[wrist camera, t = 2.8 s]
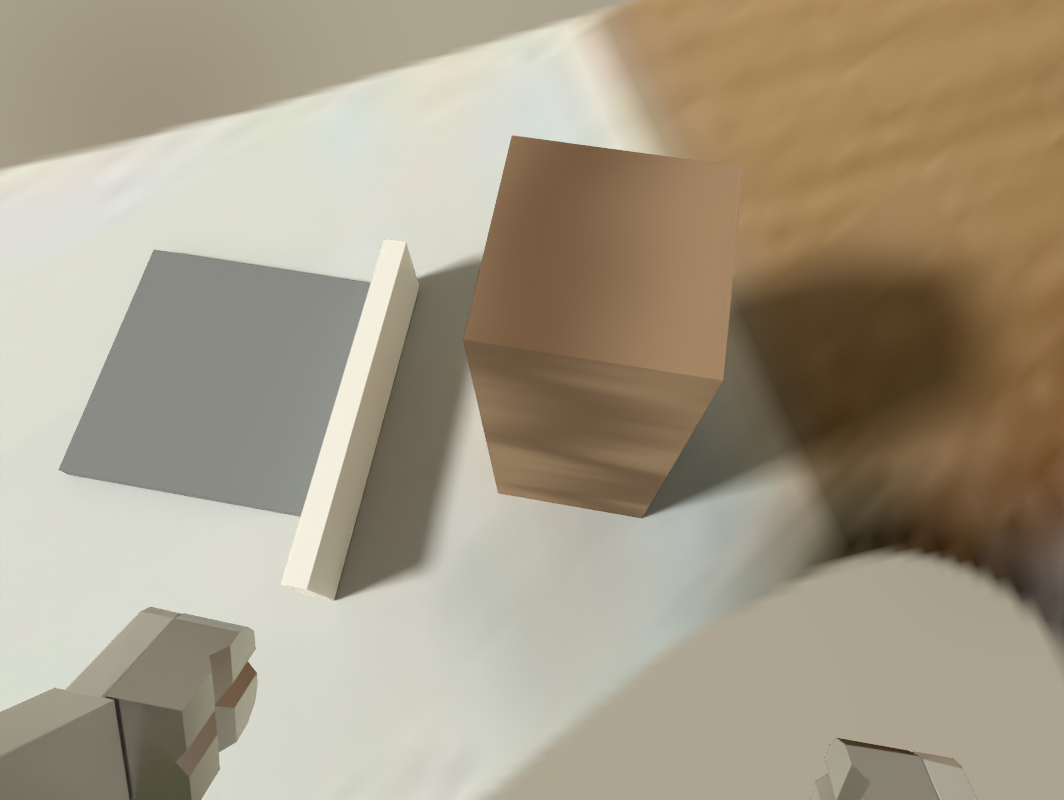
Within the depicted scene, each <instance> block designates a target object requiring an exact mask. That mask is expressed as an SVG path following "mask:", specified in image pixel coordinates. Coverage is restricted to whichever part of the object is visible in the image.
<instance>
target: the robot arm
mask: <svg viewBox="0 0 1064 800" xmlns="http://www.w3.org/2000/svg"><path fill="white" fill-rule="evenodd" d="M255 649H256V648H255V637H254V631H253V630H252V629H250V628H248V627H244V626H240V625H235V624H231V623H226V622H221V621H217V620H212V619H207V618H203V617H198V616H194V615H189V614H181V613H176V612H171V611H167V610H162V609H158V608H153V607H150V608H147V609H145V610H143V611H141V612H139V613H138V614H137V615H136V616H135V617H134V618H133V619H132V620H131V621H130V622H129V623H128V624H127V626H126V627H125V628H124V629H123V630H122V631H121V632H120V633H119V634H118V635H117V636H116V637H115V638H114V639H113V640H112V641H111V642H110V643H109V644H108V645H107V646H106V647H105V648H104V650H103V651H102V652H101V653H100V654H99V655H98V656H97V657H96V658H95V659H94V660H93V661H92V662H91V663H90V664H89V665H88V666H87V667H86V668H85V669H84V670H83V671H82V673H81V674H80V675H79V676H78V677H77V678H76V679H75V680H74V681H73V682H72V683H71V684H70V685H69V686H68V687H67V688H66V689H65V690H64V689H58V688H53V689H51V690H49V691H47V692H44V693H42V694H40V695H38V696H35V697H33V698H31V699H29V700H27V701H24V702H22V703H20V704H18V705H15V706H13V707H11V708H9V709H6V710H4V711H2V712H0V800H201V799H202V797H203V796H204V794H205V792H206V791H207V789H208V787H209V786H210V784H211V783H212V781H213V779H214V778H215V776H216V775H217V773H218V771H219V770H220V766H219V752H220V751H222V750H224V749H225V748H227V747H229V746H230V745H232V744H234V743H235V742H237V740H238V738H239V737H240V735H241V733H242V732H243V730H244V728H245V727H246V725H247V723H248V720H249V717H250V714H251V712H252V709H253V706H254V703H255V698H256V691H257V673H256V671H255V670H254V669H253V668H252V666H251V665H250V664H249V662H248V660H249V658H250V657H251V655H252V654H253V652H254V651H255ZM825 762H826V765H827V769H828V772H829V773H828V774H827V775H825V776H823V777H821V778H820V779H818V780H816V781H815V783H814V786H813V790H812V792H811V795H810V798H809V800H978V799H977V797H976V795H975V793H974V791H973V789H972V787H971V785H970V783H969V781H968V779H967V777H966V775H965V773H964V771H963V769H962V767H961V765H960V764H958V763H957V762H956V761H955V760H954V759H953V758H947V757H941V756H935V755H930V754H924V753H918V752H910V751H907V750H901V749H896V748H890V747H884V746H879V745H874V744H868V743H862V742H857V741H851V740H846V739H840V738H836V739H835V740H834V741H833V742H832V743H831V744H830V745H829V748H828V750H827V753H826V756H825Z"/></svg>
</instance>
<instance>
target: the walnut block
mask: <svg viewBox="0 0 1064 800" xmlns="http://www.w3.org/2000/svg"><path fill="white" fill-rule="evenodd" d="M742 176H743V167H741V166H733V165H726V164H719V163H711V162H704V161H697V160H689V159H682V158H674V157H667V156H660V155H652V154H645V153H637V152H630V151H623V150H615V149H608V148H601V147H593V146H586V145H578V144H571V143H564V142H556V141H549V140H542V139H534V138H527V137H519V136H512V137H511V142H510V146H509V150H508V154H507V158H506V162H505V167H504V171H503V175H502V179H501V183H500V187H499V192H498V196H497V200H496V204H495V208H494V213H493V217H492V221H491V225H490V229H489V233H488V238H487V242H486V246H485V250H484V254H483V259H482V263H481V267H480V271H479V275H478V279H477V284H476V288H475V292H474V296H473V300H472V305H471V309H470V313H469V317H468V321H467V325H466V330H465V334H464V338H463V341H464V345H465V350H466V354H467V358H468V363H469V367H470V372H471V376H472V380H473V385H474V389H475V393H476V398H477V402H478V407H479V411H480V415H481V420H482V424H483V428H484V433H485V437H486V442H487V446H488V450H489V455H490V459H491V464H492V468H493V472H494V477H495V481H496V485H497V490H498V493H500V494H506V495H512V496H518V497H523V498H529V499H535V500H540V501H546V502H552V503H558V504H563V505H569V506H575V507H581V508H586V509H592V510H598V511H603V512H609V513H615V514H621V515H626V516H632V517H638V518H642V517H643V516H644V514H645V512H646V511H647V509H648V507H649V506H650V504H651V502H652V501H653V499H654V497H655V496H656V494H657V492H658V490H659V489H660V487H661V485H662V484H663V482H664V480H665V479H666V477H667V475H668V474H669V472H670V470H671V468H672V467H673V465H674V463H675V462H676V460H677V458H678V457H679V455H680V453H681V452H682V450H683V448H684V446H685V445H686V443H687V441H688V440H689V438H690V436H691V435H692V433H693V431H694V430H695V428H696V426H697V425H698V423H699V421H700V419H701V418H702V416H703V414H704V413H705V411H706V409H707V408H708V406H709V404H710V403H711V401H712V399H713V397H714V396H715V394H716V392H717V391H718V389H719V387H720V386H721V384H722V382H723V380H724V370H725V359H726V348H727V337H728V327H729V316H730V305H731V294H732V284H733V273H734V262H735V251H736V240H737V230H738V219H739V208H740V197H741V187H742Z"/></svg>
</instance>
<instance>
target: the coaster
mask: <svg viewBox="0 0 1064 800" xmlns="http://www.w3.org/2000/svg"><path fill="white" fill-rule="evenodd" d="M370 284H371V283H368V282H361V281H355V280H348V279H342V278H335V277H329V276H322V275H316V274H309V273H303V272H296V271H290V270H283V269H277V268H270V267H264V266H257V265H251V264H244V263H238V262H231V261H225V260H218V259H212V258H205V257H199V256H192V255H186V254H179V253H173V252H167V251H160V250H153V253H152V255H151V257H150V260H149V262H148V264H147V267H146V269H145V271H144V274H143V276H142V278H141V281H140V283H139V285H138V287H137V290H136V292H135V294H134V297H133V299H132V301H131V304H130V306H129V308H128V311H127V313H126V315H125V318H124V320H123V322H122V324H121V327H120V329H119V331H118V334H117V336H116V338H115V341H114V343H113V345H112V348H111V350H110V352H109V355H108V357H107V359H106V361H105V364H104V366H103V368H102V371H101V373H100V375H99V378H98V380H97V382H96V385H95V387H94V389H93V392H92V394H91V396H90V398H89V401H88V403H87V405H86V408H85V410H84V412H83V415H82V417H81V419H80V422H79V424H78V426H77V429H76V431H75V433H74V435H73V438H72V440H71V442H70V445H69V447H68V449H67V452H66V454H65V456H64V459H63V461H62V463H61V465H60V468H59V470H60V471H62V472H64V473H67V474H69V475H74V476H80V477H85V478H91V479H96V480H102V481H107V482H113V483H118V484H124V485H129V486H135V487H140V488H146V489H152V490H157V491H163V492H168V493H174V494H179V495H185V496H190V497H196V498H201V499H207V500H212V501H218V502H223V503H229V504H234V505H240V506H245V507H251V508H256V509H262V510H268V511H273V512H279V513H284V514H290V515H295V516H301V514H302V510H303V507H304V504H305V500H306V497H307V494H308V490H309V487H310V484H311V480H312V477H313V474H314V470H315V467H316V464H317V460H318V457H319V454H320V450H321V447H322V444H323V440H324V437H325V434H326V430H327V427H328V424H329V420H330V417H331V414H332V410H333V407H334V404H335V400H336V397H337V394H338V390H339V387H340V384H341V380H342V377H343V374H344V370H345V367H346V364H347V361H348V357H349V354H350V351H351V347H352V344H353V341H354V337H355V334H356V331H357V327H358V324H359V321H360V317H361V314H362V311H363V307H364V304H365V301H366V297H367V294H368V291H369V287H370Z"/></svg>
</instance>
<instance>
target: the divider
mask: <svg viewBox="0 0 1064 800" xmlns="http://www.w3.org/2000/svg"><path fill="white" fill-rule="evenodd" d="M419 287H420V286H419V283H418V280H417V276H416V273H415V270H414V267H413V263H412V260H411V257H410V253H409V250H408V247H407V244H406V242H400V241H393V240H387V239H384V241H383V244H382V247H381V251H380V254H379V257H378V261H377V264H376V267H375V271H374V274H373V277H372V281H371V284H370V287H369V291H368V294H367V297H366V301H365V304H364V307H363V311H362V314H361V317H360V321H359V324H358V327H357V331H356V334H355V337H354V341H353V344H352V347H351V351H350V354H349V357H348V361H347V364H346V367H345V370H344V374H343V377H342V380H341V384H340V387H339V390H338V394H337V397H336V400H335V404H334V407H333V410H332V414H331V417H330V420H329V424H328V427H327V430H326V434H325V437H324V440H323V444H322V447H321V450H320V454H319V457H318V460H317V464H316V467H315V470H314V474H313V477H312V480H311V484H310V487H309V490H308V494H307V497H306V500H305V504H304V507H303V510H302V514H301V517H300V520H299V524H298V527H297V530H296V534H295V537H294V540H293V544H292V547H291V550H290V554H289V557H288V560H287V564H286V567H285V570H284V574H283V577H282V580H281V585H283V586H286V587H288V588H291V589H293V590H296V591H299V592H301V593H304V594H306V595H309V596H312V597H317V598H323V599H328V600H333V601H334V600H335V596H336V592H337V589H338V585H339V581H340V577H341V574H342V570H343V566H344V563H345V559H346V555H347V552H348V548H349V544H350V541H351V537H352V533H353V530H354V526H355V522H356V519H357V515H358V511H359V508H360V504H361V500H362V496H363V493H364V489H365V485H366V482H367V478H368V474H369V471H370V467H371V463H372V460H373V456H374V452H375V449H376V445H377V441H378V438H379V434H380V430H381V427H382V423H383V419H384V415H385V412H386V408H387V404H388V401H389V397H390V393H391V390H392V386H393V382H394V379H395V375H396V371H397V368H398V364H399V360H400V357H401V353H402V349H403V346H404V342H405V338H406V334H407V331H408V327H409V323H410V320H411V316H412V312H413V309H414V305H415V301H416V298H417V294H418V290H419Z"/></svg>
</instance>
